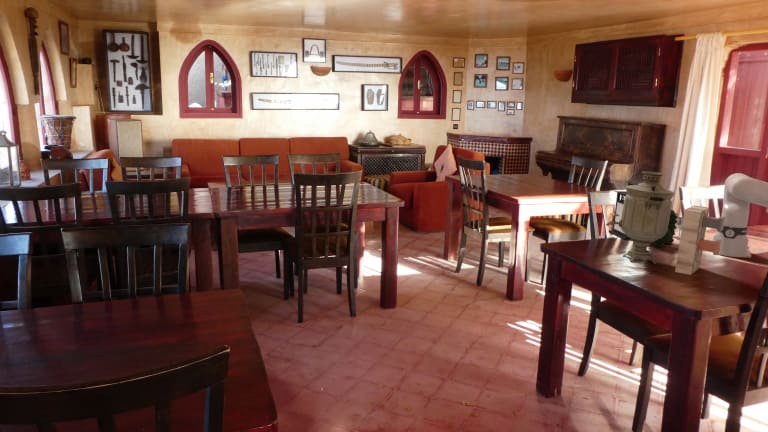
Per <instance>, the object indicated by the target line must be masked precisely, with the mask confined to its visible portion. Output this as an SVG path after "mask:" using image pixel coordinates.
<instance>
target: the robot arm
mask: <svg viewBox="0 0 768 432" xmlns="http://www.w3.org/2000/svg"><path fill="white" fill-rule="evenodd" d="M750 204H755V205H757V206H761V207H764V208H766V210H765V212H766V213H767V214H768V182H767V181H763V180H761V179H756V178H754V177H750V176H748V175H746V174H744V173H741V172H739V173H738V172H736V173H733V174H730V175H729V176H728V177H727V178H726V179H725V183H724V188H723V200H722V210H721V216H720V217H722V216H723V217H725V221H724V227H723V230H722V231H721V232H718V231H716V233H714V234H713V236H712V241H717V240H721V245H720V251H719V253H718V254H717V255H721V256H725V257H732V258H748V259H749V258H752V254H751V250H750V246H749V242H750V240H749V238H748V236H747V233H748V222H749V216H750Z"/></svg>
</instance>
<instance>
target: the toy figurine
mask: <svg viewBox="0 0 768 432" xmlns="http://www.w3.org/2000/svg"><path fill="white" fill-rule="evenodd" d="M675 213H676V212H675V210H674V209H671V213H670V219H669V224H668V230H667V233H666V234H665V235H664V236H663V237H662V238H660V239H658V240H656V241H652V245H653V247H654V248H658V249H660V248H662V247H663V245H665V246H666V247H669V246H672V245H673V242H674V241H675V239H674V238H673V237H674V236H675V235H676V232H675V230H676V229H678V226H677V224H676V223H677V221H676V218H677V216H676V215H675Z"/></svg>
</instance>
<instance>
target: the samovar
mask: <svg viewBox="0 0 768 432" xmlns="http://www.w3.org/2000/svg"><path fill="white" fill-rule="evenodd" d="M641 173H642V174H643V175H642V180H643V181H644V182H638V183H639V184H638V185H630V186H628V185H626V186H625V191H627V195H626V196H624V206H623V212H622V218H621V220H620V221H619V222H615V216H619V215H618V214H616V213H615V212H612V213H610V216H612V217H613V218H612V220H611V221H608V222H607V223H606V224H605V226H610V225H611V226H612V227H613V225H614V224H619V227H621V229H622V231H623V232H624V233H625V234H626V235H627V236H628V237H629V238H631V239H633V240H632V244H633V246H634V248H631V249H630V250H628V251H627V253H624V254H623V255H622V257H627V256H628V257H630V260H629V262H630V263H635V261H637V260H639V259H640V260H649V261H650V262H653V264H655V265H656V264H657V261H656V260H654V257H653V254H652V253H651V252H650V250H648V248H649V247H650V246H651V245H650V244H651V243H653V241H656V240H658V239H660V238H662V237H663V236H664V235H665V234H666V233H667V230H668V224H669V219H670V213H671V210H672V207H673V202H672V201H673V200H672V198H673V197H674V195H675V192H674V191H672V190H671V189H667V188H664V187H663V185H661V184H659V182H660V181H661V177H662V176H664V175H665V174H664V173H662V172H656V171H655V172H654V171H641Z"/></svg>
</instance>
